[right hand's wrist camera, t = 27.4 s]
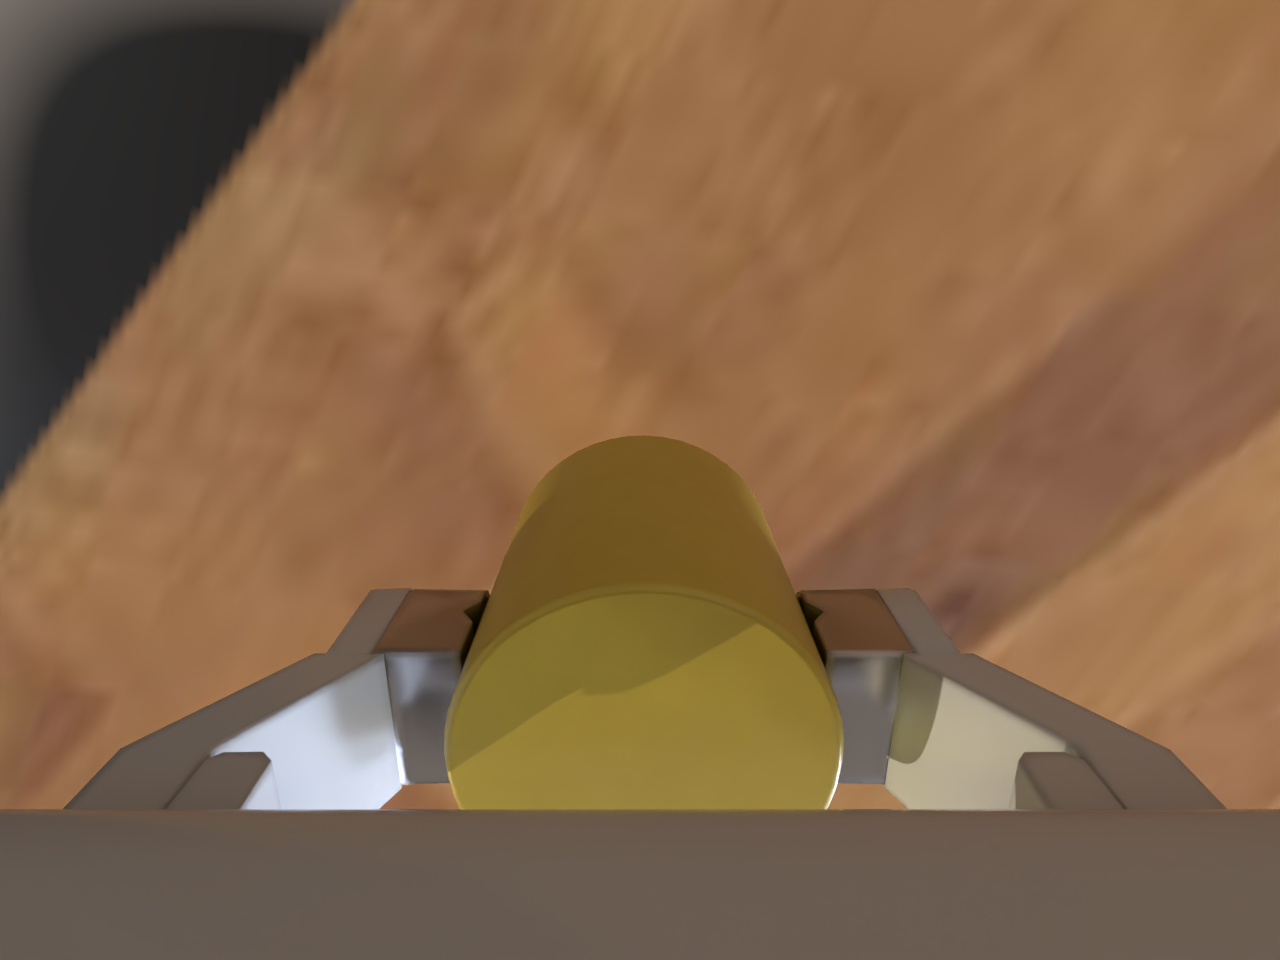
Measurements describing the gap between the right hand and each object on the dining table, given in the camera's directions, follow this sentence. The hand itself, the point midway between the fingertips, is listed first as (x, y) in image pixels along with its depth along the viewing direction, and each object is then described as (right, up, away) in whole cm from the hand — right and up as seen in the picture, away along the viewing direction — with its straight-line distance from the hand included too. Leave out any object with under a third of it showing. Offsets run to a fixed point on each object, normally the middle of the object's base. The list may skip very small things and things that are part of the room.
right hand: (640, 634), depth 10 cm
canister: (0, +1, +2) cm, 2 cm away
